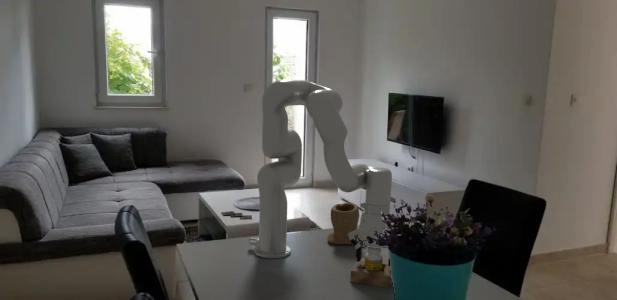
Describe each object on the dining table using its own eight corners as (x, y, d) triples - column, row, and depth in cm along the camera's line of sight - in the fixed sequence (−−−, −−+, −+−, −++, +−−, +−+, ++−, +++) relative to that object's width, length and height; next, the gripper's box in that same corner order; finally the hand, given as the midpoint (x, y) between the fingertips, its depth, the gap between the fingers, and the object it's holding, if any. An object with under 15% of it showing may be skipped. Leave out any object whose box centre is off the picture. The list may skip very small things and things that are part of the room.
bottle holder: (350, 281, 151) (350, 270, 150) (358, 267, 162) (359, 257, 161) (390, 288, 147) (390, 276, 146) (395, 273, 158) (396, 262, 158)
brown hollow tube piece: (327, 248, 180) (329, 207, 177) (326, 237, 191) (328, 199, 189) (369, 249, 179) (372, 209, 177) (366, 238, 191) (368, 200, 189)
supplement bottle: (373, 272, 158) (375, 243, 157) (385, 278, 154) (386, 248, 152) (360, 276, 155) (362, 246, 154) (371, 282, 151) (373, 251, 149)
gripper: (346, 208, 150) (344, 262, 153) (404, 215, 145) (401, 271, 148) (352, 202, 157) (349, 254, 160) (407, 208, 152) (404, 262, 155)
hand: (374, 262), depth 154 cm, fingers open, 9 cm apart
